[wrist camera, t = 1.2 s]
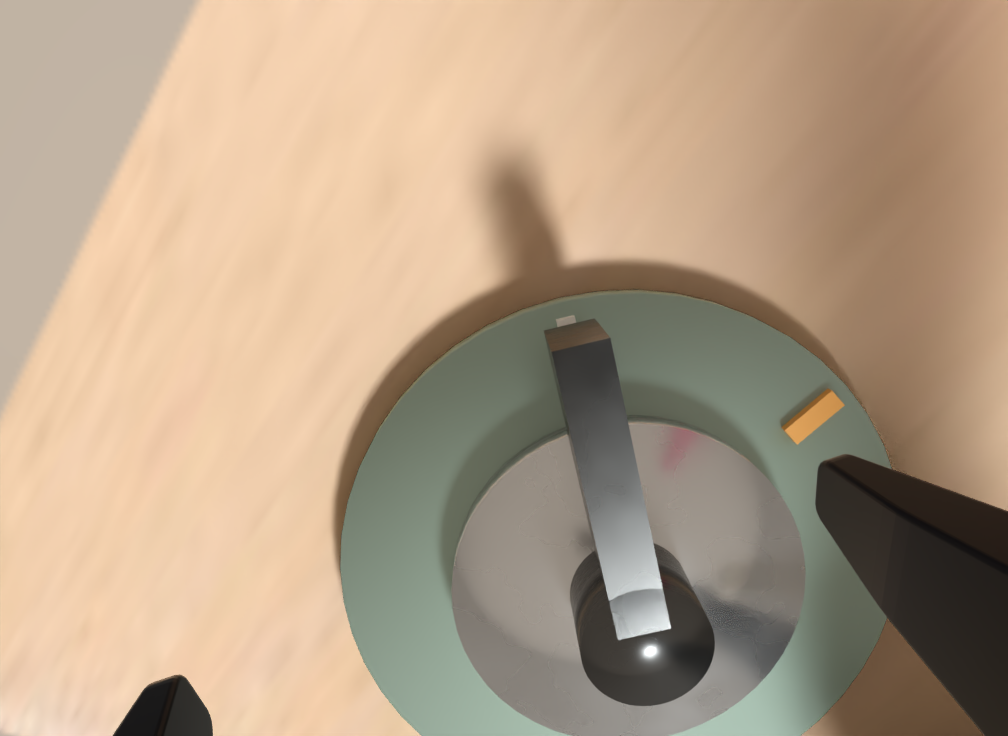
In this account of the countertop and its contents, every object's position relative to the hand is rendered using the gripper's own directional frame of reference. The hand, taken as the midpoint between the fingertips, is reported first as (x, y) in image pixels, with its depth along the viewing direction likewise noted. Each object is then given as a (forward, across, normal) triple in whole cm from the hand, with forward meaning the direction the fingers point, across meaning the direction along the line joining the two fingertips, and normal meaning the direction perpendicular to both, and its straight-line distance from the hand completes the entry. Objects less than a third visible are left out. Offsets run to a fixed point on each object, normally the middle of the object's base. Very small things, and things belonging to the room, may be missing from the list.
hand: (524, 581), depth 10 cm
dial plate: (+11, -5, +13) cm, 17 cm away
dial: (+10, -4, +11) cm, 15 cm away
